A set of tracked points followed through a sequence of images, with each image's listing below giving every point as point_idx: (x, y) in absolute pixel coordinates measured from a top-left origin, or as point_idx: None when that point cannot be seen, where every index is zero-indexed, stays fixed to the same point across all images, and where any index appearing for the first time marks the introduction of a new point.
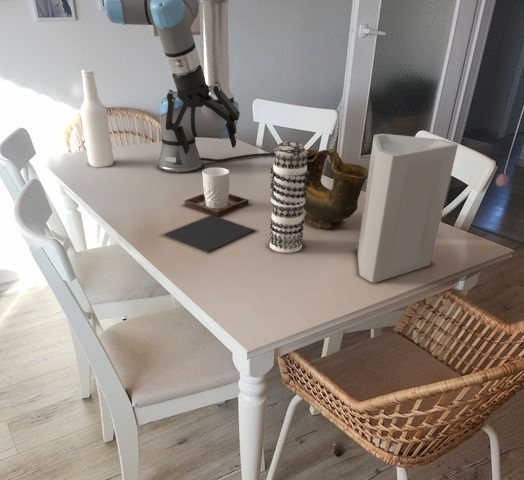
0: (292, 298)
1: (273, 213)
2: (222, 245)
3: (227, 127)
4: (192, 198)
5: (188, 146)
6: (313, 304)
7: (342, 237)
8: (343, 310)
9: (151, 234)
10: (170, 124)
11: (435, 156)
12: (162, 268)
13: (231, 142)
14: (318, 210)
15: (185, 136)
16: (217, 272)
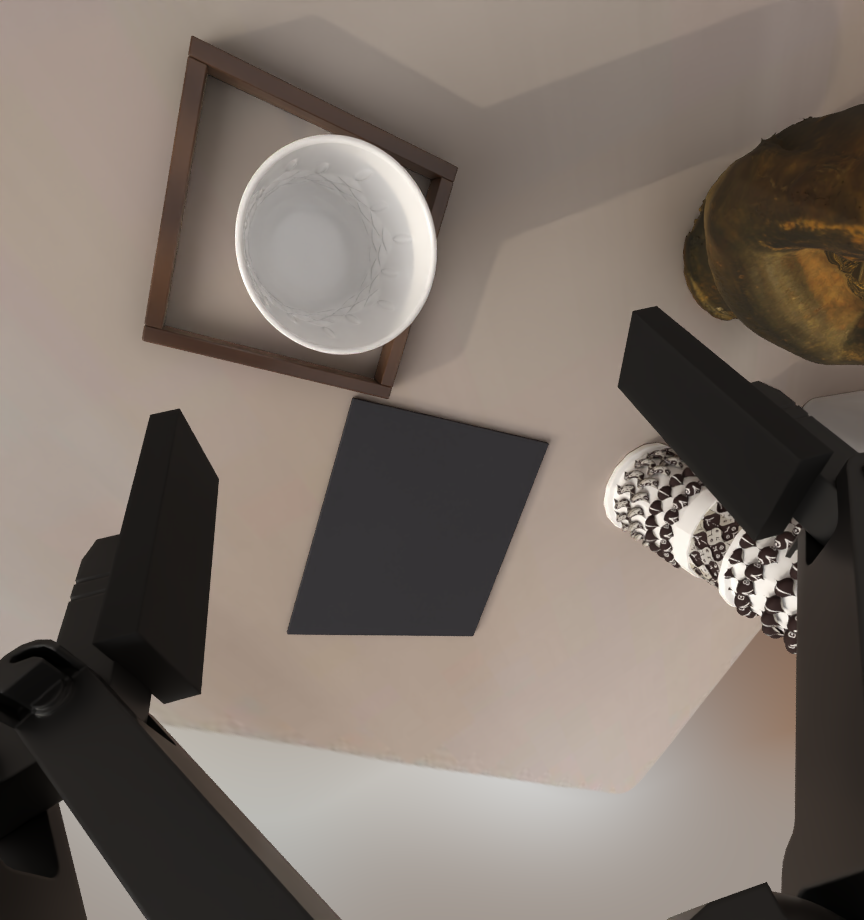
0: (671, 669)
1: (693, 568)
2: (492, 584)
3: (740, 515)
4: (164, 288)
5: (183, 438)
6: (701, 662)
7: (771, 352)
8: (740, 647)
9: (238, 654)
10: (63, 842)
11: None
12: (404, 754)
13: (646, 412)
14: (776, 342)
15: (163, 511)
16: (526, 688)
